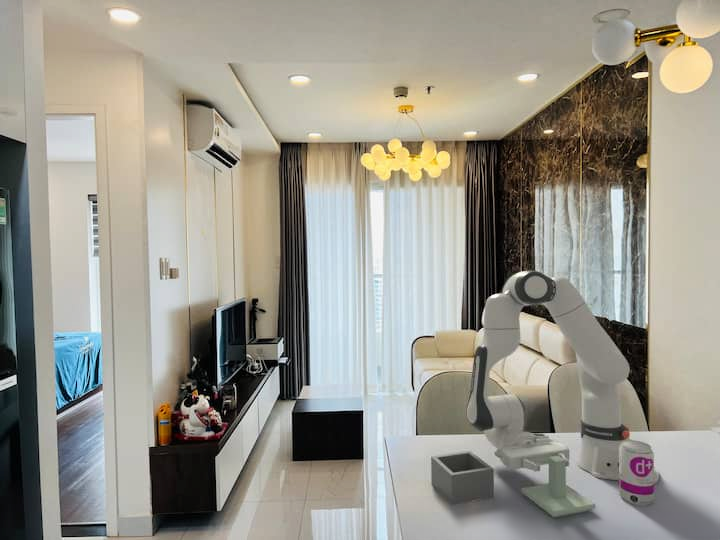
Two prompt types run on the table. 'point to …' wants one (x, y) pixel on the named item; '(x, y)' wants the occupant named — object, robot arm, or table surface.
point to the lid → (558, 492)
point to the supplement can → (636, 472)
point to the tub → (462, 477)
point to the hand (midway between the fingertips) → (552, 466)
